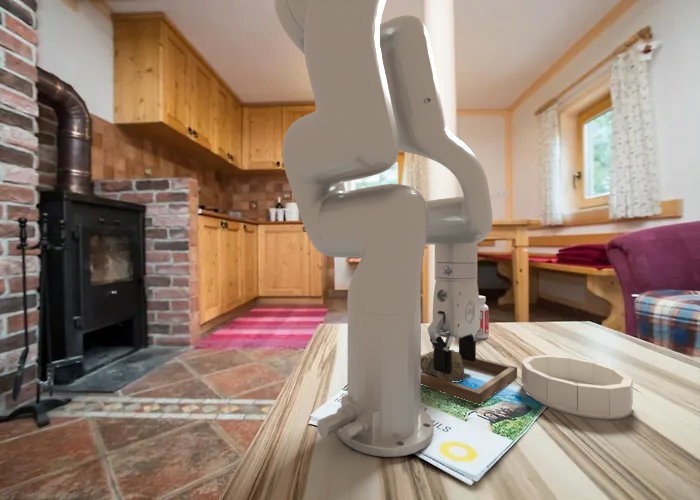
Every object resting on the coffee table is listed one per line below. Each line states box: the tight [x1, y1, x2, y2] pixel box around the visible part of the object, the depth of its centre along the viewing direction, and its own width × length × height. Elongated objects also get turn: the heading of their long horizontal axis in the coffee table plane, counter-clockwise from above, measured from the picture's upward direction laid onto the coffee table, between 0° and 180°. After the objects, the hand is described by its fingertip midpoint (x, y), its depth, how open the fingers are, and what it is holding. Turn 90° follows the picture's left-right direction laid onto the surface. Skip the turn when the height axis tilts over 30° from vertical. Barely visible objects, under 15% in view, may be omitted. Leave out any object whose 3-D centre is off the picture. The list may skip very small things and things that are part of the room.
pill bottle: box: [476, 295, 490, 340], centre depth 87 cm, size 6×6×11 cm
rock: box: [421, 349, 465, 382], centre depth 59 cm, size 7×8×4 cm
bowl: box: [521, 354, 634, 421], centre depth 50 cm, size 14×14×4 cm
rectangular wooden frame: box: [421, 350, 518, 405], centre depth 59 cm, size 16×16×2 cm
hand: (455, 365), depth 59 cm, fingers open, 8 cm apart
